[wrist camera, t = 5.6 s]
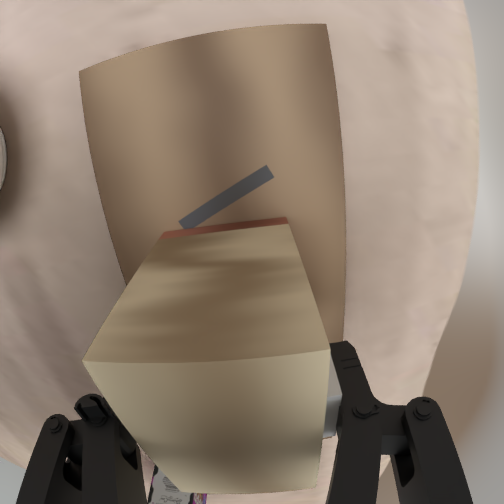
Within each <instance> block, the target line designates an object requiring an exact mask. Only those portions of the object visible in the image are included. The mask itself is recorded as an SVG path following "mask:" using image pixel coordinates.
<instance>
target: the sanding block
mask: <svg viewBox="0 0 504 504" xmlns="http://www.w3.org/2000/svg"><path fill="white" fill-rule="evenodd" d="M330 352H331V349H330V345H329V342H328V339H327V336H326V333H325V329H324V326H323V323H322V320H321V317H320V314H319V311H318V308H317V305H316V302H315V299H314V296H313V293H312V290H311V287H310V284H309V281H308V278H307V275H306V272H305V269H304V266H303V263H302V260H301V257H300V254H299V252H298V249H297V246H296V243H295V240H294V237H293V235H292V232H291V229H290V226H289V223H288V221H287V218H286V217H280V218H271V219H262V220H254V221H245V222H237V223H228V224H220V225H212V226H204V227H197V228H189V229H182V230H174V231H167V232H163V234H162V235H161V237H160V238H159V239H158V241H157V242H156V244H155V245H154V247H153V248H152V249H151V251H150V252H149V254H148V255H147V257H146V258H145V260H144V261H143V263H142V264H141V266H140V267H139V268H138V270H137V271H136V273H135V274H134V276H133V278H132V279H131V281H130V282H129V284H128V285H127V287H126V288H125V290H124V291H123V293H122V294H121V296H120V298H119V299H118V301H117V302H116V304H115V305H114V307H113V309H112V310H111V312H110V314H109V315H108V317H107V318H106V320H105V322H104V323H103V325H102V327H101V328H100V330H99V332H98V333H97V335H96V337H95V338H94V340H93V342H92V344H91V345H90V347H89V349H88V351H87V352H86V354H85V356H84V358H83V359H82V362H83V364H84V366H85V368H86V369H87V371H88V373H89V374H90V376H91V378H92V379H93V381H94V382H95V384H96V386H97V387H98V389H99V390H100V392H101V393H102V395H103V396H104V398H105V399H106V401H107V402H108V404H109V405H110V407H111V408H112V410H113V411H114V412H115V414H116V415H117V417H118V418H119V419H120V421H121V422H122V423H123V425H124V426H125V427H126V429H127V430H128V431H129V433H130V434H131V435H132V437H133V438H134V439H135V440H136V442H137V443H138V444H139V445H140V447H141V448H142V449H143V450H144V452H145V453H146V454H147V455H148V456H149V457H150V459H151V460H152V461H153V462H154V463H155V464H156V466H157V467H158V468H159V469H160V470H161V471H162V472H163V473H164V474H165V476H166V477H167V478H168V479H169V480H170V481H171V482H172V483H173V484H174V485H175V486H176V487H177V488H178V489H179V490H180V491H181V492H188V493H205V494H255V493H272V492H284V491H294V490H302V489H310V488H316V482H317V476H318V469H319V462H320V455H321V448H322V440H323V432H324V423H325V414H326V404H327V393H328V381H329V367H330Z"/></svg>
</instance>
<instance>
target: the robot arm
mask: <svg viewBox="0 0 504 504" xmlns="http://www.w3.org/2000/svg"><path fill="white" fill-rule="evenodd" d="M329 345H330V349H331V352H330V367H329V381H328V393H327V404H326V414H325V423H324V432H323V438H325V437H331V436H335V435H336V431H337V435H338V444H337V448H336V455H335V461H334V466H333V472H332V477H331V482H330V486H329V491H328V496H327V500H326V504H376V498H377V490H378V481H379V471H380V460H381V455H390V458H391V463H392V467H393V472H394V476H395V481H396V486H397V491H398V496H399V502H400V504H473V502H472V498H471V494H470V491H469V488H468V484H467V481H466V478H465V475H464V472H463V469H462V466H461V462H460V460H459V457H458V454H457V451H456V448H455V445H454V443H453V440H452V437H451V434H450V432H449V429H448V427H447V424H446V422H445V419H444V417H443V414H442V412H441V409H440V407H439V406H438V404H437V402H436V401H434V400H433V399H431V398H428V397H417V398H415V399H412V400H411V401H410V402H409V403H408V404H407V406H404V405H387V404H384V403H381V402H380V401H378V400H377V399H376V398H375V397H374V396H373V394H372V392H371V389H370V387H369V384H368V381H367V379H366V376H365V373H364V371H363V368H362V367H361V363H360V360H359V359H358V355H357V353H356V350H355V348H354V347H353V346H352V345H351V344H350V343H349V342H348V341H341V342H335V343H329ZM74 409H75V410H76V412H77V413H78V414H79V416H80V417H81V418H82V419H81V420H74V421H69V420H68V419H67V418H66V417H65V416H64V415H61V414H55V415H52V416H50V417H49V418H48V419H47V420H46V421H45V423H44V425H43V427H42V430H41V432H40V435H39V437H38V440H37V442H36V445H35V448H34V450H33V453H32V456H31V458H30V461H29V464H28V467H27V470H26V473H25V476H24V479H23V482H22V485H21V488H20V491H19V495H18V498H17V502H16V504H147V499H146V493H145V486H144V479H143V472H142V463H141V454H140V449H139V447H138V445H137V444H136V443H137V442H136V440H135V439H134V438H133V437H132V435H131V434H130V433H129V431H128V430H127V429H126V427H125V426H124V425H123V423H122V422H121V421H120V419H119V418H118V417H117V415H116V414H115V412H114V411H113V410H112V408H111V407H110V405H109V404H108V402H107V401H106V399H105V398H104V397H103V398H102V397H101V396H100V395H97V394H88V395H85V396H83V397H81V398H80V399H79V400H78V401H77V402H76V404H75V407H74ZM67 457H68V459H67V461H66V458H67ZM65 461H66V462H65Z"/></svg>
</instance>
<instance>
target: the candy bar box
mask: <svg viewBox="0 0 504 504" xmlns="http://www.w3.org/2000/svg"><path fill="white" fill-rule="evenodd" d="M206 496H207V494H205V493H188V492H181V491H180V490H179V489H178V488H177V487H176V486H175V485H174V484H173V483H172V482H171V481H170V480H169V479H168V478H167V477H166V476H165V474H164V473H163V472H162V471H161V470H160V469H159V468H158V467H157V466H156V464H155V467H154V472H153V477H152V482H151V487H150V492H149V497H148V502H147V504H206Z"/></svg>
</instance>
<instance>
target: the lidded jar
mask: <svg viewBox="0 0 504 504" xmlns="http://www.w3.org/2000/svg"><path fill="white" fill-rule="evenodd" d="M6 167H7V149H6V143H5V138H4V135H3V132H2V129H1V127H0V190H1V187H2V185H3V182H4V179H5V174H6Z"/></svg>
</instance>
